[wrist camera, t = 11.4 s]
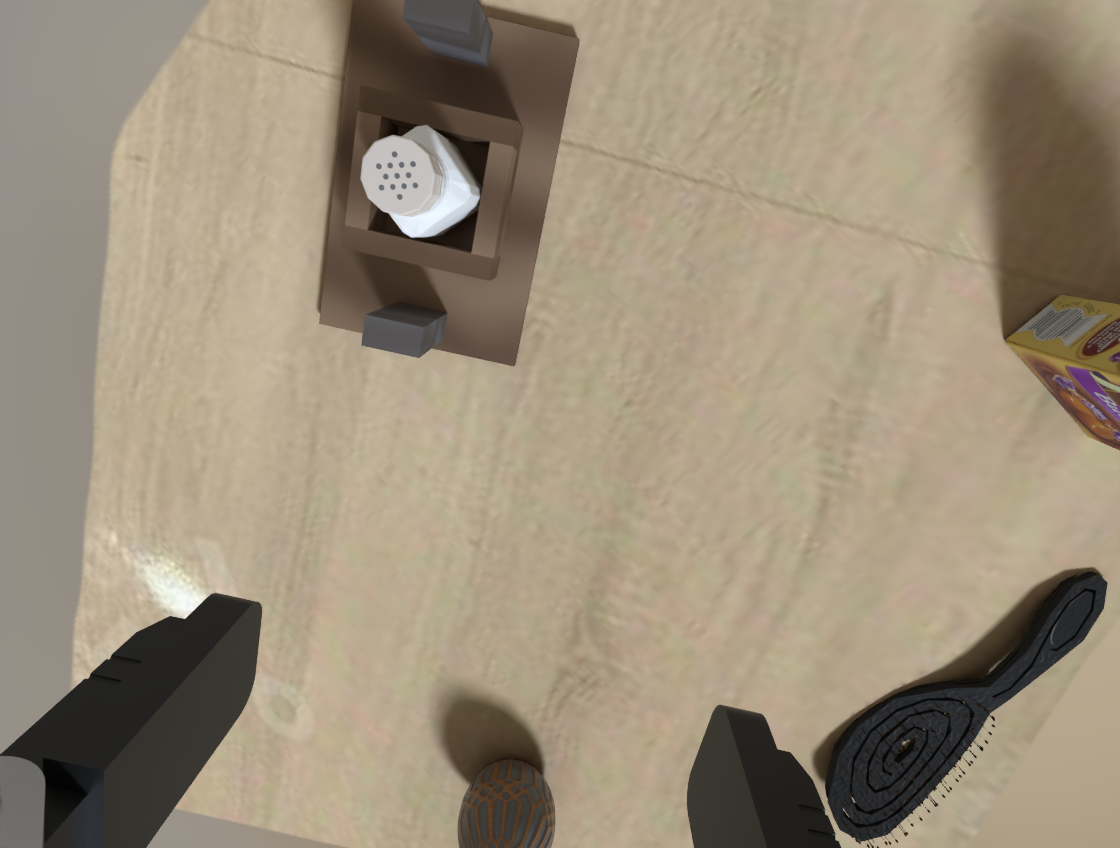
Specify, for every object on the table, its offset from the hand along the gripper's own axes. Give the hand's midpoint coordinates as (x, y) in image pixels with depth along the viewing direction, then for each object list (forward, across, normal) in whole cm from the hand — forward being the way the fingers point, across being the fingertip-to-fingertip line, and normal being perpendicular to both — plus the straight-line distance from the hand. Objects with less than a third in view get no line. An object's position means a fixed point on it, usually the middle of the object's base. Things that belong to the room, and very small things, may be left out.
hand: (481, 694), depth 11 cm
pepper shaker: (+29, +8, -8) cm, 31 cm away
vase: (+30, -4, +33) cm, 44 cm away
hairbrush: (+30, -34, +17) cm, 48 cm away
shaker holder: (+30, +8, -8) cm, 32 cm away
